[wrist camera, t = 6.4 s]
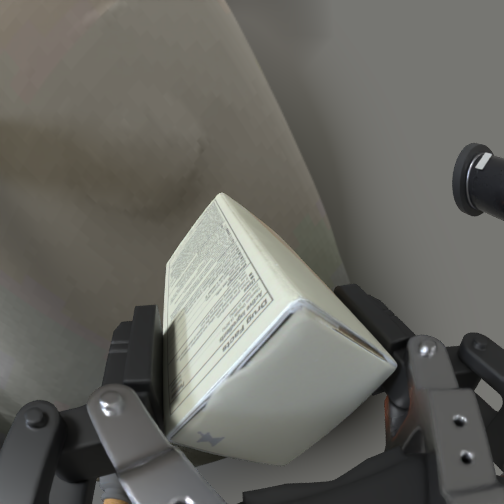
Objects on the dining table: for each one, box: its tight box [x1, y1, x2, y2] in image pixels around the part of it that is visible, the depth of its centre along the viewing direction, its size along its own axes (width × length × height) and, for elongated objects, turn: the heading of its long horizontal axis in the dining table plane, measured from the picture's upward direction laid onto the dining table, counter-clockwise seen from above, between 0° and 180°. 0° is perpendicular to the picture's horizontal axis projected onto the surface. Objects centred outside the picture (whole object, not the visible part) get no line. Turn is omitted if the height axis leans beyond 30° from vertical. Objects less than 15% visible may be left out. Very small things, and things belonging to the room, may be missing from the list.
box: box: [163, 193, 397, 466], centre depth 12 cm, size 5×4×11 cm
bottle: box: [100, 473, 132, 504], centre depth 37 cm, size 6×6×15 cm
